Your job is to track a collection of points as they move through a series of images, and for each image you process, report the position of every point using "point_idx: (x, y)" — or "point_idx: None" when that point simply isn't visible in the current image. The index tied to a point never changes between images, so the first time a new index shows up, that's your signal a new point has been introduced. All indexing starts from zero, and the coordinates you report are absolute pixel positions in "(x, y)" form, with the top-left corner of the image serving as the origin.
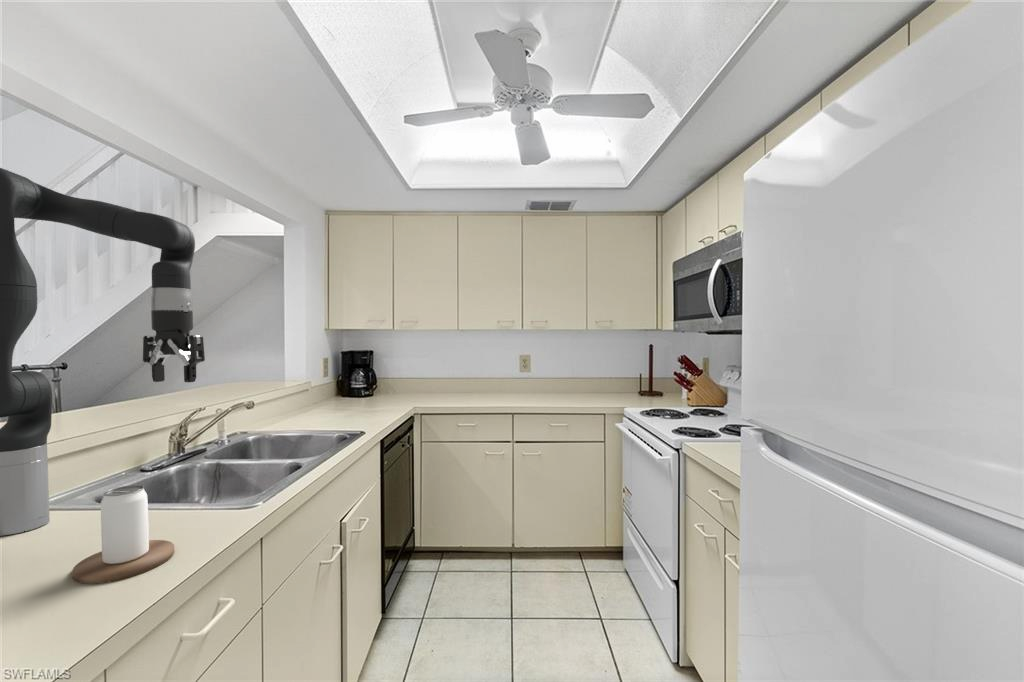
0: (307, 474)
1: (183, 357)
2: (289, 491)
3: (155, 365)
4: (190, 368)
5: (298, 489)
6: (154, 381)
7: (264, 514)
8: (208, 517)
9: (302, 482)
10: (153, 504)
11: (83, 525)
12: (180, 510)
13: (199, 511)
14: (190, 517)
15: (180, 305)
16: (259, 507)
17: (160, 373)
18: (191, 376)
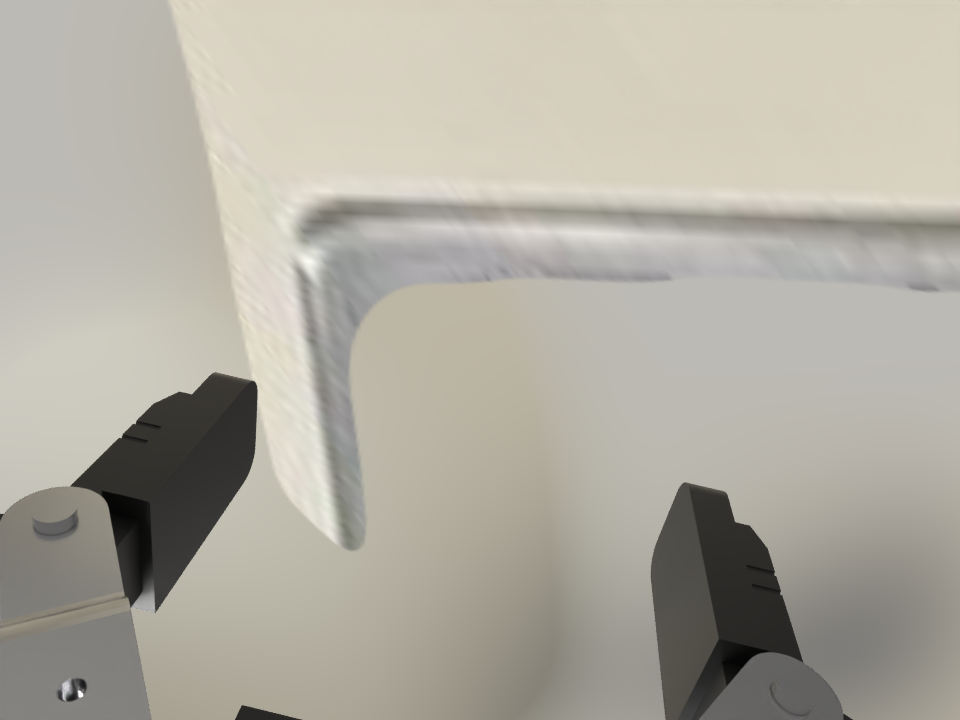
0: (333, 541)
1: (58, 599)
2: (281, 375)
3: (731, 663)
4: (84, 474)
5: (262, 392)
6: (709, 489)
7: (211, 144)
8: (405, 118)
9: (296, 462)
10: (737, 269)
11: (892, 37)
12: (573, 198)
13: (487, 184)
14: (479, 120)
15: None
16: (280, 217)
17: (674, 598)
18: (148, 418)
